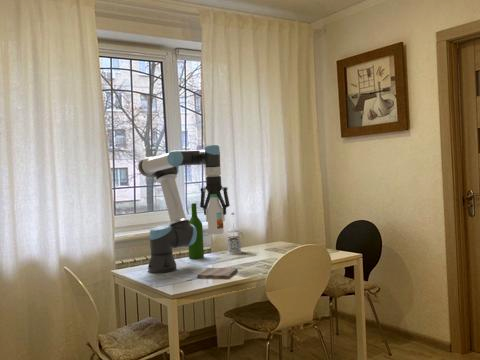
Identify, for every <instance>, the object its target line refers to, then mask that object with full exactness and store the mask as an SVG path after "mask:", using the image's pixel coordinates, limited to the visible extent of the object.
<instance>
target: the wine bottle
mask: <svg viewBox="0 0 480 360" xmlns="http://www.w3.org/2000/svg"><path fill="white" fill-rule="evenodd" d="M190 207H191V217H190V219H189V222H190V224H192V225H194V226H195V228H196V231H197V238H196V241H195V243H194V244H193V245H190V246H187V247H188V258H189V259H191V260H198V259H203V258H204V257H205V253H204V252H205V251H204V235H203V234H204V233H203V222H202V221H201V219H200V218H199V217H198V211H197V210H198V209H197V203H191V205H190Z"/></svg>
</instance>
